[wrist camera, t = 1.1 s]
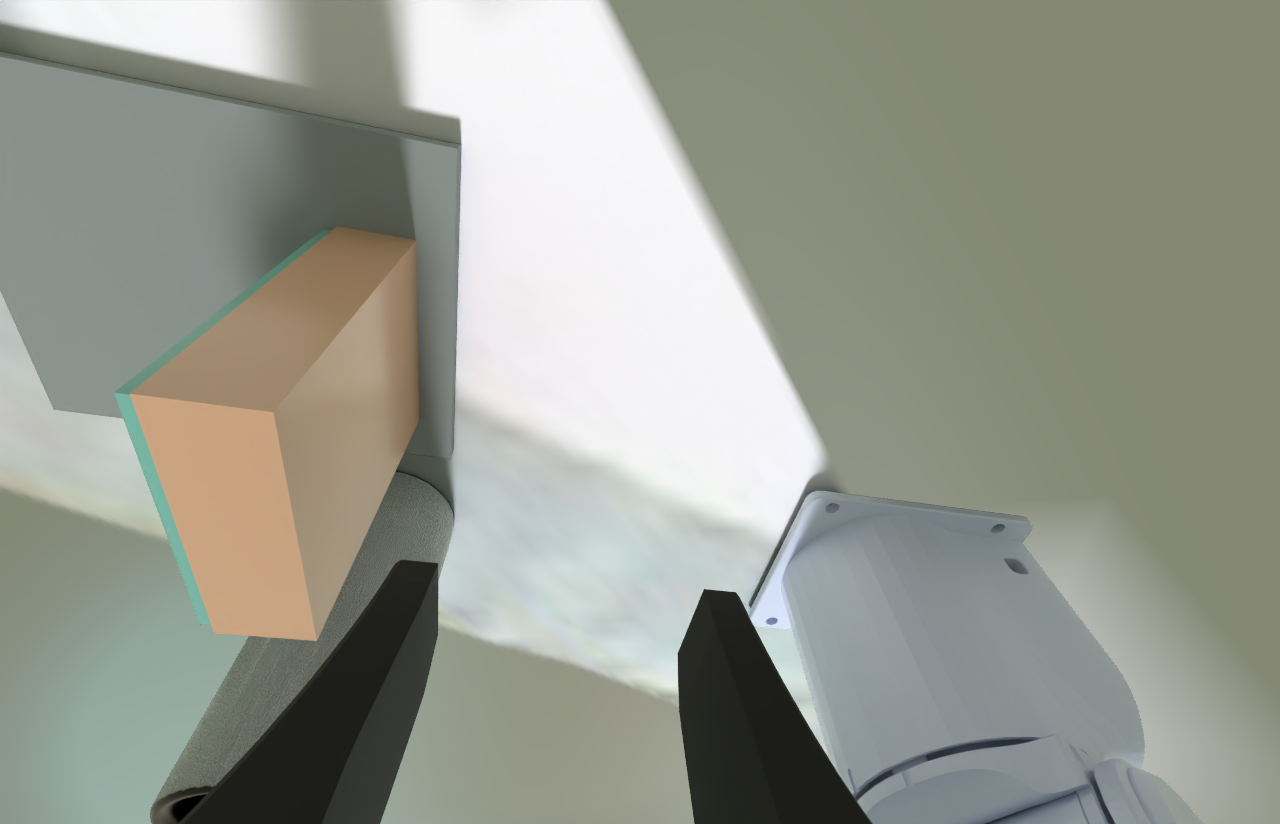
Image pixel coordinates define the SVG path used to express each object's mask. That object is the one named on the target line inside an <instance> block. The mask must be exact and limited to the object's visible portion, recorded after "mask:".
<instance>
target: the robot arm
mask: <svg viewBox="0 0 1280 824" xmlns="http://www.w3.org/2000/svg"><path fill="white" fill-rule="evenodd" d="M831 503H834V504H833V505H830V506H828V505H829V504H831ZM1032 529H1033V525H1032V524H1031V523H1030V521H1029V520H1028V519H1027V518H1026V517H1023V516H1016V515H1008V514H1001V513H993V512H985V511H977V510H969V509H962V508H954V507H945V506H938V505H931V504H923V503H914V502H907V501H899V500H892V499H883V498H875V497H868V496H860V495H853V494H845V493H837V492H829V491H814V492H812V493H810V494H809V495H807V497H806V498H805V500H804V502H803V504H802V506H801V508H800V510H799V512H798V514H797V516H796V518H795V520H794V522H793V524H792V526H791V528H790V530H789V532H788V534H787V536H786V538H785V540H784V542H783V544H782V546H781V548H780V550H779V552H778V554H777V556H776V558H775V560H774V562H773V564H772V566H771V569H770V571H769V573H768V575H767V577H766V579H765V581H764V583H763V585H762V587H761V589H760V591H759V593H758V595H757V597H756V599H755V601H754V603H753V605H752V607H751V609H750V611H749V614H748V613H747V611H746V609H745V607H744V605H743V603H742V601H741V599H740V597H739V596H738V595H737V593H736V592H726V591H716V590H706V589H704V591H703V593H702V596H701V598H700V600H699V603H698V605H697V608H696V610H695V613H694V615H693V618H692V620H691V622H690V625H689V627H688V630H687V632H686V635H685V637H684V640H683V642H682V644H681V647H680V649H679V652H678V687H679V712H680V720H681V728H682V735H683V743H684V750H685V758H686V765H687V772H688V780H689V787H690V794H691V801H692V808H693V816H694V823H695V824H1204V823H1203V822H1202V821H1201V819H1199V817H1198V816H1197V815H1196V813H1194V811H1193V810H1192V809H1191V808H1190V807H1189V806H1188V805H1187V803H1186V802H1185V801H1184V800H1183V799H1182V798H1181V797H1180V796H1179V795H1178V794H1177V793H1176V792H1175V791H1174V790H1173V789H1172V788H1171V787H1170V786H1169V785H1168V784H1167V783H1166V782H1165V781H1163V780H1162V779H1161V778H1159V777H1157V776H1155V775H1153V774H1151V773H1148V772H1146V771H1143V770H1141V767H1142V763H1143V758H1144V734H1143V728H1142V723H1141V719H1140V715H1139V711H1138V708H1137V705H1136V702H1135V700H1134V697H1133V695H1132V692H1131V690H1130V688H1129V686H1128V684H1127V682H1126V681H1125V679H1124V677H1123V675H1122V674H1121V672H1120V671H1119V669H1118V668H1117V666H1116V665H1115V664H1114V662H1113V661H1112V659H1111V658H1110V657H1109V656H1108V654H1107V653H1106V652H1105V650H1104V649H1103V648H1102V646H1101V645H1100V644H1099V643H1098V641H1097V640H1096V639H1095V637H1094V636H1093V635H1092V633H1091V632H1090V631H1089V629H1088V628H1087V627H1086V625H1085V624H1084V623H1083V622H1082V620H1081V619H1080V618H1079V616H1078V615H1077V614H1076V612H1075V611H1074V610H1073V608H1072V607H1071V606H1070V605H1069V603H1068V602H1067V601H1066V599H1065V598H1064V597H1063V595H1062V594H1061V593H1060V592H1059V590H1058V589H1057V588H1056V587H1055V585H1054V584H1053V582H1052V581H1051V580H1050V579H1049V577H1048V576H1047V575H1046V573H1045V572H1044V571H1043V569H1042V568H1041V567H1040V565H1039V564H1038V563H1037V561H1036V560H1035V559H1034V558H1033V556H1032V555H1031V554H1030V552H1029V551H1028V550H1027V548H1026V547H1025V546H1024V544H1023V543H1022V542H1023V541H1024V540H1025V539H1026V538H1027V536H1028V535H1029V534H1030V532H1031V531H1032ZM754 626H760V627H771V628H782V629H792V632H793V635H794V639H795V642H796V645H797V649H798V652H799V656H800V659H801V663H802V666H803V670H804V673H805V676H806V680H807V683H808V687H809V690H810V694H811V697H812V701H813V704H814V708H815V711H816V714H817V718H818V721H819V725H820V728H821V732H822V735H823V739H824V742H825V746H826V749H827V752H828V756H829V758H828V756H827V755H826V753H825V752H824V750H823V749H822V747H821V745H820V744H819V742H818V740H817V739H816V737H815V736H814V734H813V732H812V731H811V729H810V727H809V726H808V724H807V722H806V721H805V719H804V717H803V715H802V714H801V712H800V710H799V708H798V707H797V705H796V703H795V701H794V700H793V698H792V696H791V694H790V693H789V691H788V689H787V688H786V686H785V684H784V682H783V680H782V679H781V677H780V675H779V673H778V671H777V669H776V668H775V666H774V664H773V662H772V660H771V658H770V656H769V654H768V653H767V651H766V649H765V647H764V645H763V643H762V641H761V639H760V637H759V635H758V633H757V631H756V629H755V627H754ZM437 636H438V563H432V562H422V561H411V560H400V561H398V562H397V563H395V564H394V566H393V567H392V569H391V571H390V572H389V574H388V575H387V577H386V579H385V580H384V582H383V583H382V585H381V586H380V588H379V589H378V591H377V592H376V594H375V595H374V596H373V598H372V599H371V601H370V602H369V604H368V605H367V606H366V608H365V609H364V611H363V612H362V613H361V615H360V616H359V617H358V619H357V620H356V622H355V623H354V624H353V626H352V627H351V628H350V630H349V631H348V632H347V634H346V635H345V636H344V638H343V639H342V640H341V641H340V643H339V644H338V645H337V646H336V648H335V649H334V650H333V651H332V653H331V654H330V655H329V657H328V658H327V659H326V660H325V662H324V663H323V664H322V665H321V667H320V668H319V669H318V670H317V672H316V673H315V674H314V675H313V677H312V678H311V679H310V680H309V682H308V683H307V684H306V685H305V686H304V688H303V689H302V690H301V691H300V692H299V693H298V695H297V696H296V697H295V698H294V699H293V700H292V701H291V703H290V704H289V705H288V706H287V707H286V708H285V710H284V711H283V712H282V713H281V714H280V715H279V716H278V718H277V719H276V720H275V721H274V722H273V723H272V725H271V726H270V727H269V728H268V729H267V730H266V731H265V733H264V734H263V735H262V736H261V737H260V738H259V739H258V741H257V742H256V743H255V744H254V745H253V746H252V747H251V748H250V749H249V750H248V751H247V753H246V754H245V755H244V756H243V757H242V758H241V759H240V760H239V761H238V762H237V763H236V764H235V766H234V767H233V768H232V769H231V770H230V771H229V772H228V773H227V774H226V775H225V776H224V777H223V778H222V779H221V780H220V781H219V782H218V783H217V784H216V786H215V787H214V788H213V789H212V790H211V791H210V792H209V793H208V794H207V795H206V796H205V797H204V798H203V799H202V800H201V801H200V802H199V803H198V804H197V805H196V806H195V807H194V808H193V809H192V810H191V811H190V812H189V813H188V814H187V815H186V816H185V817H184V818H183V819H182V820H181V821H180V822H179V823H178V824H380V822H381V819H382V816H383V813H384V810H385V807H386V805H387V802H388V799H389V796H390V793H391V790H392V787H393V784H394V781H395V778H396V775H397V772H398V769H399V766H400V763H401V760H402V758H403V754H404V751H405V749H406V746H407V743H408V740H409V737H410V734H411V731H412V728H413V725H414V722H415V719H416V716H417V713H418V710H419V707H420V704H421V701H422V698H423V695H424V691H425V687H426V683H427V678H428V675H429V670H430V666H431V662H432V657H433V653H434V648H435V644H436V640H437ZM829 759H830V760H829Z"/></svg>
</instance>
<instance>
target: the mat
mask: <svg viewBox="0 0 1280 824" xmlns="http://www.w3.org/2000/svg"><path fill="white" fill-rule="evenodd" d="M460 171H461V145H460V144H455V143H450V142H445V141H441V140H436V139H431V138H426V137H421V136H416V135H411V134H406V133H401V132H396V131H391V130H386V129H381V128H376V127H371V126H366V125H362V124H357V123H352V122H347V121H342V120H337V119H332V118H327V117H322V116H317V115H312V114H307V113H302V112H297V111H292V110H287V109H283V108H278V107H273V106H268V105H263V104H258V103H253V102H248V101H243V100H238V99H233V98H228V97H223V96H218V95H213V94H209V93H204V92H199V91H194V90H189V89H184V88H179V87H174V86H169V85H164V84H159V83H154V82H149V81H144V80H139V79H134V78H130V77H125V76H120V75H115V74H110V73H105V72H100V71H95V70H90V69H85V68H80V67H75V66H70V65H65V64H60V63H55V62H51V61H46V60H41V59H36V58H31V57H26V56H21V55H16V54H11V53H6V52H1V51H0V291H1V293H2V295H3V298H4V300H5V302H6V304H7V307H8V309H9V311H10V313H11V315H12V318H13V320H14V322H15V324H16V327H17V329H18V331H19V333H20V335H21V338H22V340H23V342H24V344H25V346H26V349H27V351H28V353H29V355H30V358H31V360H32V362H33V364H34V366H35V369H36V371H37V373H38V375H39V378H40V380H41V382H42V384H43V386H44V389H45V391H46V393H47V395H48V398H49V400H50V402H51V404H52V406H53V409H54V410H61V411H69V412H77V413H85V414H93V415H101V416H109V417H117V418H123V416H122V413H121V411H120V408H119V405H118V403H117V400H116V397H115V395H114V392H115V391H116V390H118V389H119V388H120V387H122V386H123V385H124V384H125V383H127V382H128V381H129V380H130V379H132V378H133V377H134V376H136V375H137V374H138V373H139V372H141V371H142V370H143V369H145V368H146V367H147V366H148V365H150V364H151V363H152V362H154V361H155V360H156V359H157V358H159V357H160V356H161V355H163V354H164V353H165V352H166V351H168V350H169V349H170V348H172V347H173V346H174V345H175V344H177V343H178V342H179V341H181V340H182V339H183V338H184V337H186V336H187V335H188V334H190V333H191V332H192V331H193V330H195V329H196V328H197V327H199V326H200V325H201V324H202V323H204V322H205V321H206V320H208V319H209V318H210V317H211V316H213V315H214V314H215V313H217V312H218V311H219V310H220V309H222V308H223V307H224V306H226V305H227V304H228V303H229V302H231V301H232V300H233V299H235V298H236V297H237V296H238V295H240V294H241V293H242V292H244V291H245V290H246V289H247V288H249V287H250V286H251V285H253V284H254V283H255V282H256V281H258V280H259V279H260V278H262V277H263V276H264V275H265V274H267V273H268V272H269V271H271V270H272V269H273V268H274V267H276V266H277V265H278V264H280V263H281V262H282V261H283V260H285V259H286V258H287V257H289V256H290V255H291V254H292V253H294V252H295V251H296V250H298V249H299V248H300V247H301V246H303V245H304V244H305V243H307V242H308V241H309V240H310V239H312V238H313V237H314V236H316V235H317V234H318V233H319V232H321V231H322V230H323V229H327V230H333V229H334V228H336V227H337V226H339V227H345V228H350V229H356V230H362V231H367V232H373V233H378V234H384V235H390V236H395V237H401V238H407V239H412V240H416V252H417V312H418V371H419V422H418V424H417V426H416V428H415V430H414V432H413V435H412V437H411V439H410V441H409V443H408V445H407V448H406V450H405V452H404V453H406V454H414V455H422V456H430V457H438V458H447V459H450V458H451V455H452V453H453V449H454V409H455V369H456V330H457V290H458V250H459V210H460Z"/></svg>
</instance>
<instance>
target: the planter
mask: <svg viewBox="0 0 1280 824" xmlns="http://www.w3.org/2000/svg"><path fill="white" fill-rule="evenodd" d="M453 526H454V517H453V512H452V509H451V507H450V505H449V504H448V502H447V501H446V499H445V498H444V497H443V496H442V494H440V493H439V492H438V491H437V490H436V489H435V488H433V487H432V486H431V485H429V484H428V483H426V482H424V481H422V480H420V479H418V478H416V477H414V476H411V475H408V474H404V473H400V472H395V473H394V476H393V478H392V480H391V482H390V484H389V486H388V489H387V491H386V493H385V495H384V497H383V499H382V502H381V504H380V506H379V508H378V510H377V512H376V514H375V517H374V519H373V521H372V523H371V525H370V527H369V530H368V532H367V534H366V536H365V538H364V540H363V543H362V545H361V547H360V549H359V551H358V553H357V556H356V558H355V560H354V562H353V564H352V566H351V568H350V571H349V573H348V575H347V577H346V579H345V581H344V584H343V586H342V588H341V590H340V592H339V594H338V597H337V599H336V601H335V603H334V605H333V607H332V610H331V612H330V614H329V616H328V618H327V620H326V622H325V625H324V627H323V629H322V631H321V633H320V635H319V638H318V640H317V641H311V640H298V639H285V638H272V637H259V636H249V637H248V639H247V640H246V642H245V644H244V646H243V647H242V649H241V651H240V653H239V654H238V656H237V658H236V660H235V661H234V663H233V665H232V667H231V669H230V670H229V672H228V674H227V675H226V677H225V679H224V681H223V682H222V684H221V686H220V688H219V689H218V691H217V693H216V695H215V697H214V698H213V700H212V702H211V703H210V705H209V707H208V708H207V710H206V712H205V714H204V715H203V717H202V719H201V721H200V722H199V724H198V726H197V728H196V730H195V731H194V733H193V735H192V736H191V738H190V740H189V742H188V743H187V745H186V747H185V749H184V750H183V752H182V754H181V756H180V757H179V759H178V761H177V763H176V764H175V766H174V768H173V769H172V771H171V773H170V775H169V777H168V778H167V780H166V782H165V784H164V785H163V787H162V789H161V791H160V792H159V794H158V796H157V798H156V800H155V801H154V803H153V805H152V807H151V811H150V819H151V823H152V824H178V823H179V822H180V821H181V820H182V819H183V818H184V817H185V816H186V815H187V814H188V813H189V812H190V811H191V810H192V809H193V808H194V807H195V806H196V805H197V804H198V803H199V802H200V801H201V800H202V799H203V798H204V797H205V796H206V795H207V794H208V793H209V792H210V791H211V790H212V789H213V788H214V787H215V786H216V784H217V783H218V782H219V781H220V780H221V779H222V778H223V777H224V776H225V775H226V774H227V773H228V772H229V771H230V770H231V769H232V768H233V767H234V766H235V764H236V763H237V762H238V761H239V760H240V759H241V758H242V757H243V756H244V755H245V754H246V753H247V751H248V750H249V749H250V748H251V747H252V746H253V745H254V744H255V743H256V742H257V741H258V739H259V738H260V737H261V736H262V735H263V734H264V733H265V731H266V730H267V729H268V728H269V727H270V726H271V725H272V723H273V722H274V721H275V720H276V719H277V718H278V716H279V715H280V714H281V713H282V712H283V711H284V710H285V708H286V707H287V706H288V705H289V704H290V703H291V701H292V700H293V699H294V698H295V697H296V696H297V695H298V693H299V692H300V691H301V690H302V689H303V688H304V686H305V685H306V684H307V683H308V682H309V680H310V679H311V678H312V677H313V675H314V674H315V673H316V672H317V670H318V669H319V668H320V667H321V665H322V664H323V663H324V662H325V660H326V659H327V658H328V657H329V655H330V654H331V653H332V651H333V650H334V649H335V648H336V646H337V645H338V644H339V643H340V641H341V640H342V639H343V638H344V636H345V635H346V634H347V632H348V631H349V630H350V628H351V627H352V626H353V624H354V623H355V622H356V620H357V619H358V617H359V616H360V615H361V613H362V612H363V611H364V609H365V608H366V606H367V605H368V604H369V602H370V601H371V599H372V598H373V596H374V595H375V594H376V592H377V591H378V589H379V588H380V586H381V585H382V583H383V582H384V580H385V579H386V577H387V575H388V574H389V572H390V571H391V569H392V567H393V566H394V564H395V563H397V562H398V561H400V560H411V561H422V562H432V563H438V580H439V577H440V573H441V570H442V567H443V563H444V560H445V557H446V553H447V550H448V547H449V543H450V540H451V536H452V531H453Z"/></svg>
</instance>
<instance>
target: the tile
mask: <svg viewBox="0 0 1280 824" xmlns="http://www.w3.org/2000/svg"><path fill="white" fill-rule="evenodd" d="M114 395H115V397H116V400H117V403H118V405H119V408H120V411H121V413H122V416H123V419H124V422H125V424H126V427H127V430H128V432H129V435H130V438H131V440H132V443H133V446H134V448H135V451H136V454H137V456H138V459H139V462H140V465H141V467H142V470H143V473H144V475H145V478H146V481H147V483H148V486H149V489H150V491H151V494H152V497H153V499H154V502H155V505H156V508H157V510H158V513H159V516H160V518H161V521H162V524H163V526H164V529H165V532H166V534H167V537H168V540H169V543H170V545H171V548H172V551H173V553H174V556H175V558H176V561H177V564H178V567H179V569H180V572H181V575H182V577H183V580H184V583H185V585H186V588H187V591H188V594H189V596H190V599H191V602H192V604H193V607H194V610H195V612H196V615H197V618H198V620H199V623H200V625H210V626H212V628H213V631H214V633H220V634H234V635H246V636H259V637H272V638H285V639H298V640H311V641H317V640H318V638H319V635H320V633H321V631H322V629H323V627H324V625H325V622H326V620H327V618H328V616H329V614H330V612H331V610H332V607H333V605H334V603H335V601H336V599H337V597H338V594H339V592H340V590H341V588H342V586H343V584H344V581H345V579H346V577H347V575H348V573H349V571H350V568H351V566H352V564H353V562H354V560H355V558H356V556H357V553H358V551H359V549H360V547H361V545H362V543H363V540H364V538H365V536H366V534H367V532H368V530H369V527H370V525H371V523H372V521H373V519H374V517H375V514H376V512H377V510H378V508H379V506H380V504H381V502H382V499H383V497H384V495H385V493H386V491H387V489H388V486H389V484H390V482H391V480H392V478H393V476H394V473H395V471H396V469H397V467H398V465H399V463H400V460H401V458H402V456H403V454H404V452H405V450H406V448H407V445H408V443H409V441H410V439H411V437H412V435H413V432H414V430H415V428H416V426H417V424H418V422H419V371H418V312H417V252H416V240H412V239H407V238H401V237H395V236H390V235H384V234H378V233H373V232H367V231H362V230H356V229H350V228H345V227H339V226H337V227H336V228H334V229H333V230H327V229H323V230H322V231H321V232H319V233H318V234H317V235H316V236H314V237H313V238H312V239H310V240H309V241H308V242H307V243H305V244H304V245H303V246H301V247H300V248H299V249H298V250H296V251H295V252H294V253H292V254H291V255H290V256H289V257H287V258H286V259H285V260H283V261H282V262H281V263H280V264H278V265H277V266H276V267H274V268H273V269H272V270H271V271H269V272H268V273H267V274H265V275H264V276H263V277H262V278H260V279H259V280H258V281H256V282H255V283H254V284H253V285H251V286H250V287H249V288H247V289H246V290H245V291H244V292H242V293H241V294H240V295H238V296H237V297H236V298H235V299H233V300H232V301H231V302H229V303H228V304H227V305H226V306H224V307H223V308H222V309H220V310H219V311H218V312H217V313H215V314H214V315H213V316H211V317H210V318H209V319H208V320H206V321H205V322H204V323H202V324H201V325H200V326H199V327H197V328H196V329H195V330H193V331H192V332H191V333H190V334H188V335H187V336H186V337H184V338H183V339H182V340H181V341H179V342H178V343H177V344H175V345H174V346H173V347H172V348H170V349H169V350H168V351H166V352H165V353H164V354H163V355H161V356H160V357H159V358H157V359H156V360H155V361H154V362H152V363H151V364H150V365H148V366H147V367H146V368H145V369H143V370H142V371H141V372H139V373H138V374H137V375H136V376H134V377H133V378H132V379H130V380H129V381H128V382H127V383H125V384H124V385H123V386H122V387H120V388H119V389H118V390H116V391H115V392H114Z"/></svg>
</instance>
